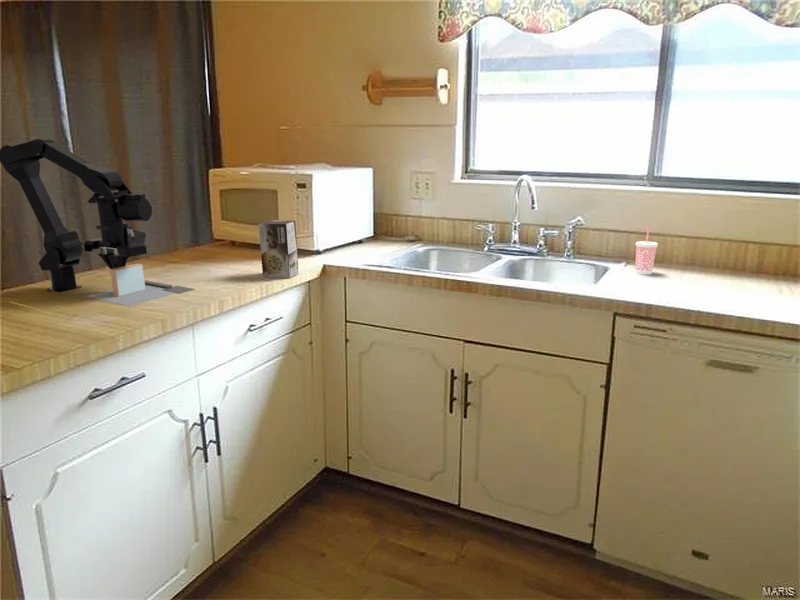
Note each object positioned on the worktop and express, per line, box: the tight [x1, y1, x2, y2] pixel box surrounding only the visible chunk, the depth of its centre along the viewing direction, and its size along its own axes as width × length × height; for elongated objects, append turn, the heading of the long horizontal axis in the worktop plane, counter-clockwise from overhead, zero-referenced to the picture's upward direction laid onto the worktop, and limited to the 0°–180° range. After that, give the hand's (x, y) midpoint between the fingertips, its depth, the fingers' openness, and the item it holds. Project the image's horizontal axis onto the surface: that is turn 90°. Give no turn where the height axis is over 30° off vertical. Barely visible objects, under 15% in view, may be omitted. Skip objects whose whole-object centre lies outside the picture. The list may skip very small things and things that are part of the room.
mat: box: [85, 284, 177, 307], centre depth 155 cm, size 18×16×1 cm
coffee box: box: [257, 219, 299, 279], centre depth 173 cm, size 9×6×16 cm
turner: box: [144, 279, 195, 295], centre depth 161 cm, size 19×5×1 cm, turn 59°
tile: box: [109, 263, 146, 297], centre depth 155 cm, size 2×8×7 cm, turn 149°
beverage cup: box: [634, 225, 659, 275], centre depth 174 cm, size 6×6×14 cm
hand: (119, 279), depth 157 cm, fingers closed
